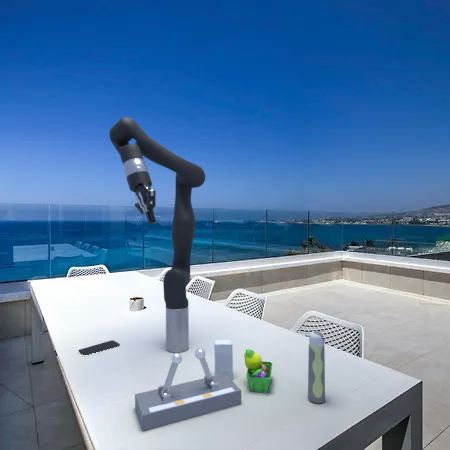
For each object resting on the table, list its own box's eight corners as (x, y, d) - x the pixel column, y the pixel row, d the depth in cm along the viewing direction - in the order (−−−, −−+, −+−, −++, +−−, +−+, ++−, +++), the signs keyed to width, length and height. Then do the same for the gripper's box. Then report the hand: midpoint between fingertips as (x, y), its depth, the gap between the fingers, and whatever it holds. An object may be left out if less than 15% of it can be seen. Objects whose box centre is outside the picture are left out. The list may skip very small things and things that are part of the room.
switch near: (156, 393, 91) (171, 349, 92) (166, 394, 92) (181, 351, 93) (160, 400, 87) (175, 354, 89) (170, 401, 88) (185, 356, 90)
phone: (77, 350, 131) (112, 339, 142) (77, 352, 131) (112, 341, 142) (84, 355, 126) (120, 344, 137) (84, 357, 126) (120, 346, 137)
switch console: (135, 408, 92) (134, 387, 91) (225, 386, 103) (225, 367, 103) (142, 431, 82) (142, 407, 82) (241, 403, 94) (241, 383, 93)
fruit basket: (271, 395, 98) (271, 358, 98) (242, 392, 100) (241, 356, 99) (272, 376, 109) (272, 343, 109) (246, 374, 111) (246, 342, 111)
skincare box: (232, 373, 112) (232, 339, 111) (232, 380, 107) (232, 344, 107) (214, 374, 111) (214, 339, 111) (214, 380, 107) (214, 344, 107)
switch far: (205, 385, 97) (191, 349, 95) (214, 379, 98) (200, 344, 96) (210, 391, 93) (196, 354, 91) (219, 386, 94) (205, 349, 92)
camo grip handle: (306, 394, 98) (306, 329, 98) (323, 395, 98) (323, 329, 97) (309, 403, 93) (309, 334, 93) (326, 404, 93) (326, 335, 92)
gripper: (155, 165, 106) (171, 214, 103) (140, 182, 116) (154, 227, 114) (133, 166, 101) (149, 218, 99) (120, 184, 112) (134, 231, 109)
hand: (152, 223), depth 106 cm, fingers closed
